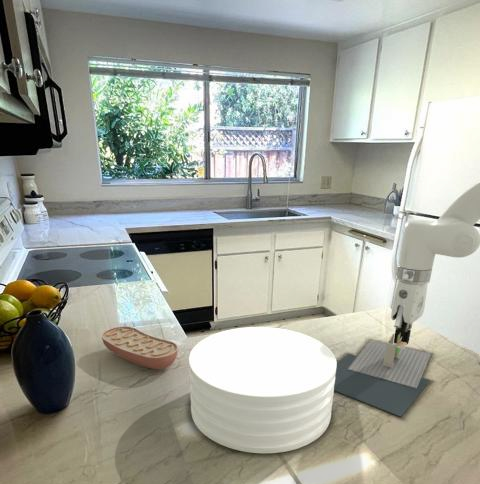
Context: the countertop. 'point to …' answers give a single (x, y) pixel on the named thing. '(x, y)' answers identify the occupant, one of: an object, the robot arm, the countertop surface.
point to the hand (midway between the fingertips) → (400, 343)
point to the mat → (375, 388)
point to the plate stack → (261, 388)
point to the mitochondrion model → (140, 347)
